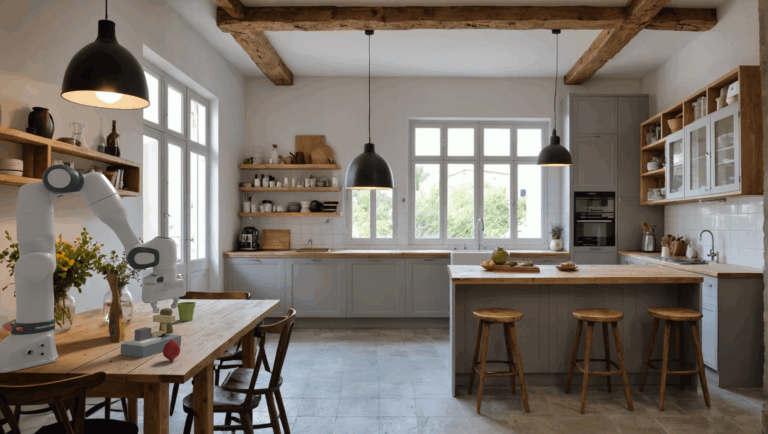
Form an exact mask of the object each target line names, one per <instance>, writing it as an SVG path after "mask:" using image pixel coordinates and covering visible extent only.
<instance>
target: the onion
mask: <svg viewBox="0 0 768 434" xmlns="http://www.w3.org/2000/svg"><path fill="white" fill-rule="evenodd" d="M180 353H181V346H179V344H178V343H176V342H175V341H174V339H171V340H170V341H169V342H168V343H167V344H166V345H165V346H164V348H163V352H162V355H163V357H164V358H165V359H166V360H169V361H171V362H172V361H174V360H175V359H176V358H177V357H178V356H179V355H180Z"/></svg>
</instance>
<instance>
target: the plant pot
mask: <svg viewBox="0 0 768 434" xmlns="http://www.w3.org/2000/svg"><path fill="white" fill-rule="evenodd" d="M196 304H197V302H195V301H184V302H183V301H182V302H178V303H177V310H178V317H179V321H180V322H191V321H193V319H194V312H195V307H196Z"/></svg>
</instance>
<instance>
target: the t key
mask: <svg viewBox="0 0 768 434" xmlns="http://www.w3.org/2000/svg"><path fill="white" fill-rule="evenodd" d="M152 322H154V323H160V322H162V325H161V330H160V331H159V330H156V331H153V332H152V331H151V337H153V336H156V335H160V334H161V335H166V323H172V324H173V323H176V316H175V315H171V316H167V315H160V314H155V315H152Z"/></svg>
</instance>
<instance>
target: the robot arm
mask: <svg viewBox="0 0 768 434" xmlns="http://www.w3.org/2000/svg"><path fill="white" fill-rule="evenodd" d="M73 193H74V194H78V195H80V196H81V197H82V198H83V199H84V201H85V202H86V204H87V206H88V207H89V209H90V210H91V211H92V213H93V214H94V215H95V216H96V218H98V219H99V220H100V222H102V223H104V224H105V225H106V226H108V227H109V228H110V229H111V230H112V231H113V232H114V233H115V236H116V237H117V238H118V241H120V243H121V244H122V246H123V248H124V250H125V259H126V261H127V264H128V265H129V267H131V268H132V269H133V270H136V271H137V270H138V271H143V270H147V269H150V268H152V272H151V273H150V274H148V275H145V277H143V278H142V279H141V281H142V284H143V285H142V286H141V287H142V288H141V301H142V303H144V304H150V307H151V308H152V313H153V314H158V313H159V314H160V308H159V307H158V306H157V305H158V302H162V301H167V300H170V299H171V300H172V303H171V304H170V309H172V310H174V309H178V307H177V303H179V300H180V298H181V297H185V296H186V294H187V288H186V281H185V276H184V275H182V274H178V268H177V257H178V256H177V253H178V252H177V243H176V241H175V240H174V239H173V238H172V237H165V236H155V237H154V238H152V239H151V240H149V241H147V242H145V243H144V242H142V241H141V240H140V238H139V237H138V235H137V233H136V232H135V231H134V229H133V227H132V226H131V224H130V221H129V220H128V214H127V210H126V206H125V204H124V203H125V202H124V201H123V199H122V197H121V195H120V194H119V192H118V190H117V189H116V188H115V186H114V184H112V182H111V181H110V180H109V178H107V177H106V175H105V174H103V172H99V171H91V172H87V173H84V174H83V173H82V172H80V171H78V170H77V169H75V168H73V167H71V166H69V165H66V164H60V163H59V164H58V163H56V164H53V165H50V166H49V167H48V168H46V169H45V170H44V172H43V174H42V179H41V181H38V182H29V183H26V184H23V185H22V186H21V187H19V190H18V194H17V199H16V207H15V208H16V209H15V210H16V211H15V212H16V214H15V216H16V221H15V222H16V223H15V224H16V239H17V245H18V254H19V255H18V256H19V258H18V259H17V260H16V262H15V263H14V268H13V271H14V272H13V275H14V276H13V277H14V290H15V299H16V300H15V302H16V303H15V304H16V305H15V306H16V307H15V309H16V310H15V322H14V324H13V325H12V324H5V325H3V329H4V331H8V332H10V333H9V334H8V335H7V336H6V337H5V338H3V339H2V340H1V341H0V374H4V373H10V372H11V373H12V372H15V371H20V370H25V369H28V368H33V367H37V366H42V365H46V364H52V363H54V362H56V360H57V359H58V357H59V353H58V351H57V347H56V340H55V330H56V318H55V314H54V312H55V293H54V272H55V271H56V269H57V255H56V254H57V253H56V239H55V238H56V237H55V208H54V206H55V200H56V198H61V197H65V196H69V195H72V194H73Z"/></svg>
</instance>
